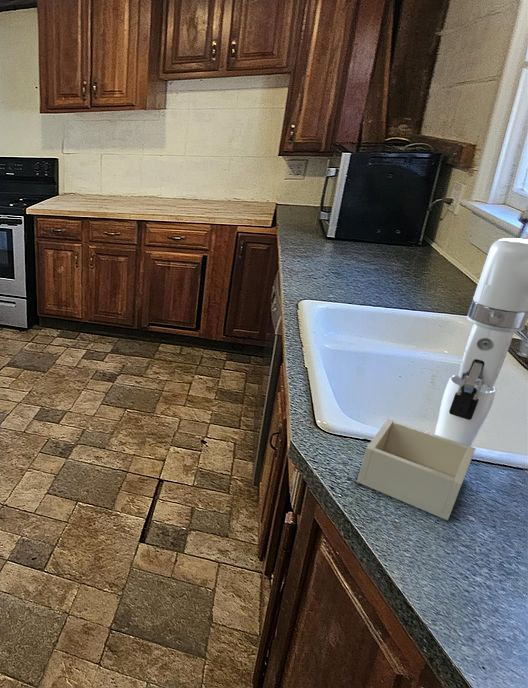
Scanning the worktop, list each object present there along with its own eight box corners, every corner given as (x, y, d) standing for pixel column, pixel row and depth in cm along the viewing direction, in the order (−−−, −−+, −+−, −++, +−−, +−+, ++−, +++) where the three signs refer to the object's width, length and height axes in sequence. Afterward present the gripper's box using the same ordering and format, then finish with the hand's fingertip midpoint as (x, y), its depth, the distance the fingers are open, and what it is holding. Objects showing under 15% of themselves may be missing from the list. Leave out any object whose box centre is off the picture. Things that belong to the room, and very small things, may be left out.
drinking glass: (432, 440, 102) (455, 371, 96) (474, 456, 97) (502, 385, 91) (419, 453, 98) (443, 382, 92) (463, 471, 93) (491, 397, 87)
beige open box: (462, 482, 90) (475, 448, 88) (447, 520, 82) (461, 484, 79) (378, 450, 99) (387, 418, 96) (356, 482, 90) (366, 447, 87)
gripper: (521, 335, 79) (482, 436, 86) (531, 308, 90) (497, 398, 97) (460, 322, 84) (428, 418, 90) (477, 297, 95) (448, 384, 102)
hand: (464, 407), depth 94 cm, fingers closed on drinking glass, 6 cm apart
